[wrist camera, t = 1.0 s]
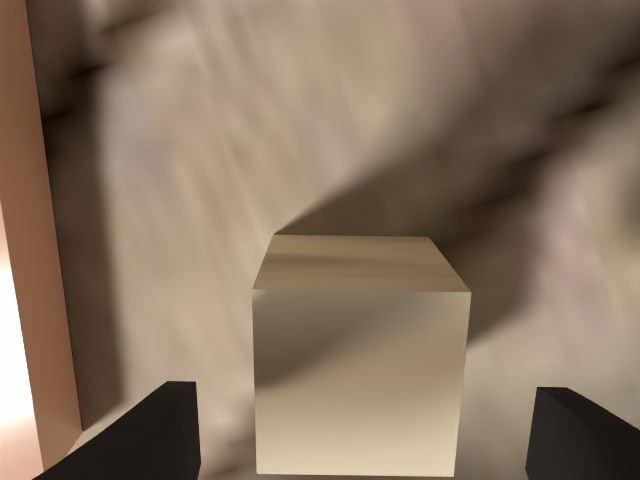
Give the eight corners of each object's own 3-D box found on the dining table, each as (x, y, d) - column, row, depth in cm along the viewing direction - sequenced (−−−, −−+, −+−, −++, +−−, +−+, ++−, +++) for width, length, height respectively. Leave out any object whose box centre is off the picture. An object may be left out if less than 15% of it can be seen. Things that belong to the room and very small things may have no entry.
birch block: (418, 374, 18) (453, 476, 13) (275, 372, 18) (256, 473, 13) (427, 235, 16) (471, 292, 11) (273, 234, 16) (252, 289, 11)
